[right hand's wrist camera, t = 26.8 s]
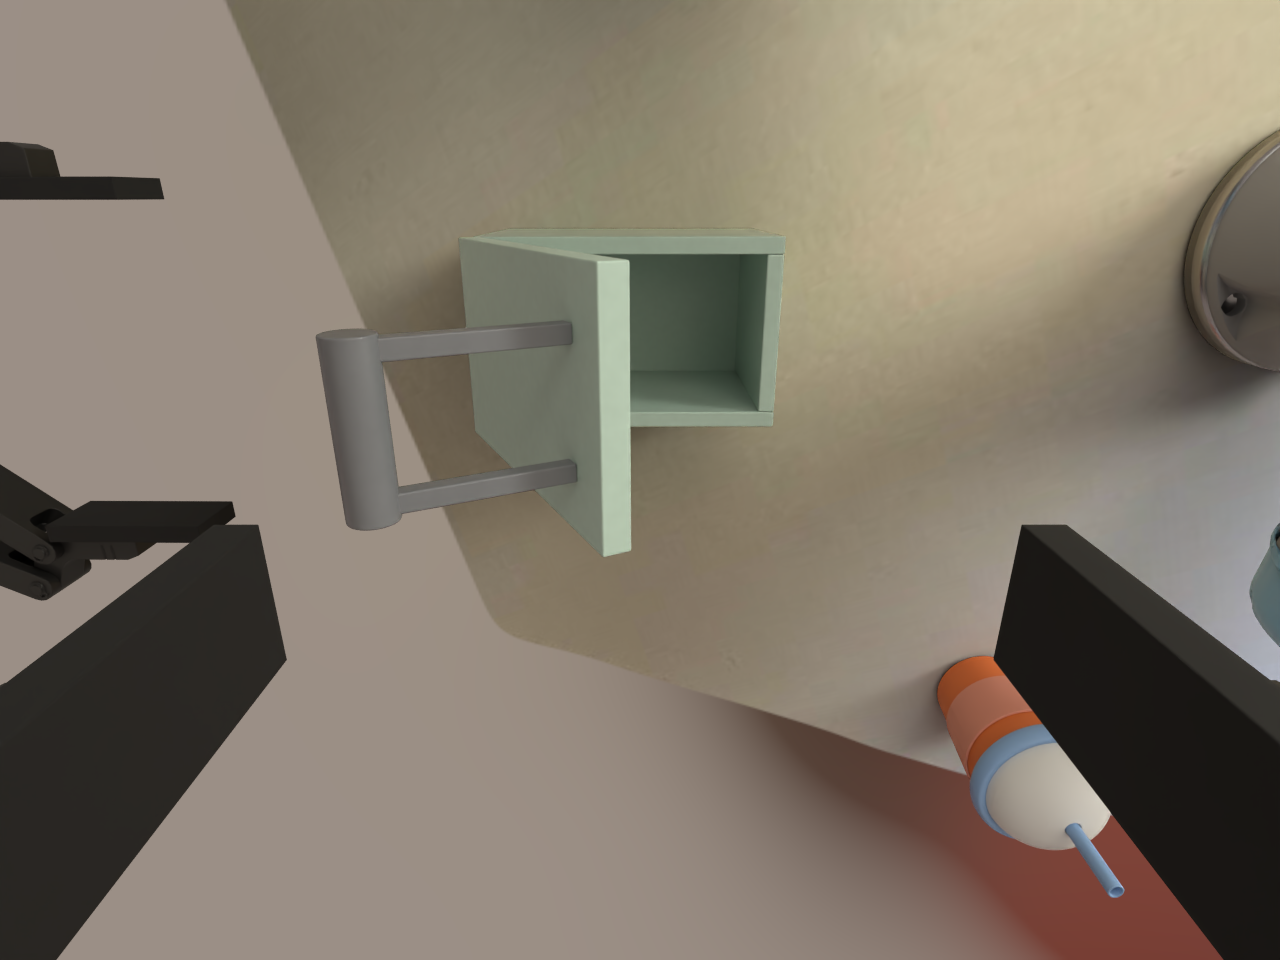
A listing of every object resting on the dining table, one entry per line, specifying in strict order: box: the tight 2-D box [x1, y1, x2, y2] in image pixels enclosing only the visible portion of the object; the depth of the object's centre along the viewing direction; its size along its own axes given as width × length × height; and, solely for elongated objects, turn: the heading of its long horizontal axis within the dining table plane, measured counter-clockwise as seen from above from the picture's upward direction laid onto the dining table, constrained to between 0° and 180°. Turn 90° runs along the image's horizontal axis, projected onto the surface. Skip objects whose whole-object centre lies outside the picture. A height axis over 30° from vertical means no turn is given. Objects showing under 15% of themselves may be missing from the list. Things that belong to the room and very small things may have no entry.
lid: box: [316, 237, 631, 557], centre depth 28 cm, size 16×10×9 cm
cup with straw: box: [937, 656, 1124, 898], centre depth 48 cm, size 9×9×18 cm
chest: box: [474, 228, 786, 427], centre depth 41 cm, size 15×10×11 cm, turn 90°
